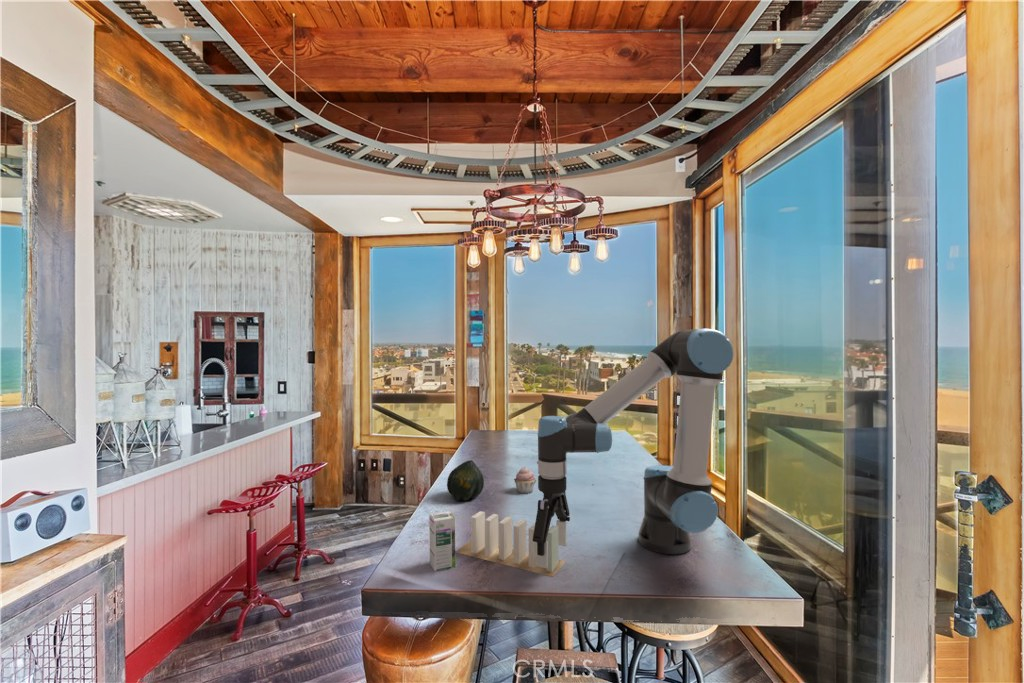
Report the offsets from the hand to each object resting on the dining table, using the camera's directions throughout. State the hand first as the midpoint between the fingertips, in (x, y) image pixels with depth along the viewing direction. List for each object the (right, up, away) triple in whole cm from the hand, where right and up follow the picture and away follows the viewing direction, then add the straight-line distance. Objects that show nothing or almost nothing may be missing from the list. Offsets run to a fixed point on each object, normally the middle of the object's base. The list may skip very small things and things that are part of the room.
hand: (552, 555), depth 119 cm
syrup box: (-30, -5, +2) cm, 30 cm away
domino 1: (-21, -3, +10) cm, 23 cm away
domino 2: (-17, -3, +8) cm, 19 cm away
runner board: (-12, -4, +6) cm, 14 cm away
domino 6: (0, -3, 0) cm, 3 cm away
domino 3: (-13, -3, +6) cm, 14 cm away
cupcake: (-5, -5, +64) cm, 65 cm away
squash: (-29, -5, +57) cm, 65 cm away
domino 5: (-4, -3, +2) cm, 6 cm away
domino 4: (-9, -3, +4) cm, 10 cm away
